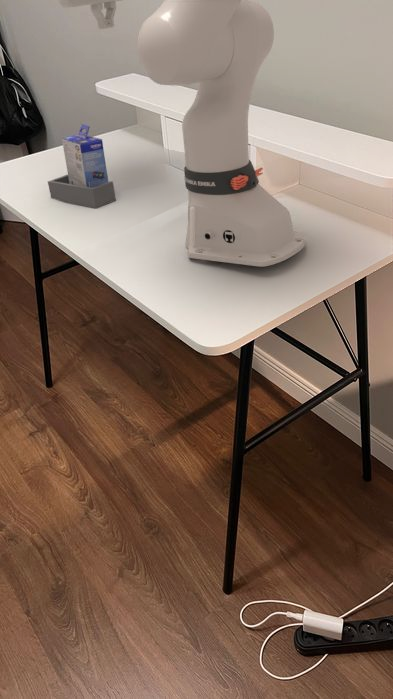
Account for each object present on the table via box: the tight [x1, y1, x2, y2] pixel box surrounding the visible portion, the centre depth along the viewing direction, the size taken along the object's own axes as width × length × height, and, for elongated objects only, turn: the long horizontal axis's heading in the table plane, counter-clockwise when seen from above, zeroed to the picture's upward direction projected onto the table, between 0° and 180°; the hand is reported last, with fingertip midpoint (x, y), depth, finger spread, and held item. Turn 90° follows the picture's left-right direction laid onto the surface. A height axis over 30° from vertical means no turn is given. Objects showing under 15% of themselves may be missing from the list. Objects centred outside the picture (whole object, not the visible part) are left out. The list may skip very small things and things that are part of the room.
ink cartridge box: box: [61, 124, 109, 188], centre depth 132 cm, size 10×6×14 cm, turn 34°
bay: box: [47, 174, 117, 209], centre depth 132 cm, size 14×6×4 cm, turn 50°
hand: (106, 28), depth 129 cm, fingers closed
